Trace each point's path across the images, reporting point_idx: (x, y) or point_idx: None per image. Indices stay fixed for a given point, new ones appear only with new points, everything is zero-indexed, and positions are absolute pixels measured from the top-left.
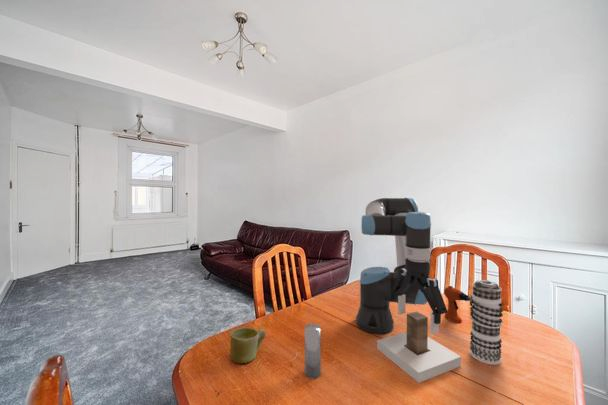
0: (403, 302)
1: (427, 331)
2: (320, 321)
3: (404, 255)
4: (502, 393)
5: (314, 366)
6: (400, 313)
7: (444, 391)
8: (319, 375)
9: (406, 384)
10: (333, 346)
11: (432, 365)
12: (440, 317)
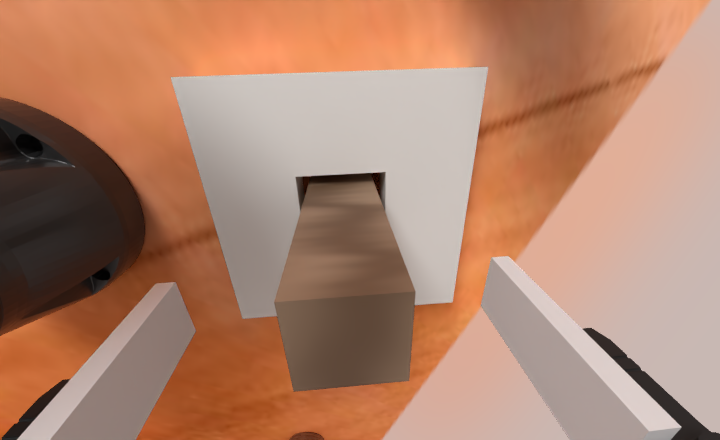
0: (109, 402)
1: (389, 224)
2: (20, 382)
3: None
4: (630, 69)
5: None
6: (189, 330)
7: (500, 241)
8: (320, 438)
9: (427, 308)
10: (209, 390)
11: (453, 240)
12: (658, 389)
